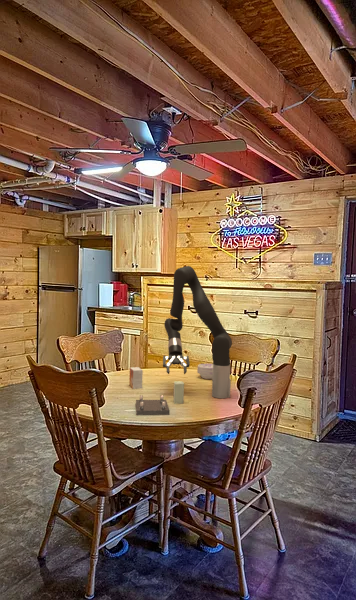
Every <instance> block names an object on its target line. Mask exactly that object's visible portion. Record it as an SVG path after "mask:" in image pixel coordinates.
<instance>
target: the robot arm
mask: <svg viewBox="0 0 356 600" xmlns="http://www.w3.org/2000/svg"><path fill="white" fill-rule="evenodd" d="M185 285H188V287H189V289H190V291H191V293H192V294H191V295H192V304H193V309H194V310H195V312H196V314H197V316H198V318H199V320H200V321H201V322H202V323H203V324H204V325H205V326H206V327H207V328H208V330H209V331H210V333H211V336H212V337H213V340H212V344H211V345H212V346H211V347H212V348H211V349H212V350H211V351H212V352H211V353H212V355H211V357H212V359H211V360H212V364H213V379H211V380H212V382H211V384H212V385H211V396H212V397H213V398H216V399H227V398H231V384H232V382H231V380H232V379H231V359H230V349H231V348H232V347H233V346H232V345H233V340H232V338H231V336H230V335H229V333H228V332H227V329H225V327H224V326H223V324H222V323H221V321H220V318H219V316H218V314H217V313H216V311H215V308H214V306H213V305H212V303H211V301H210V300H209V298H208V296H207V295H206V292H205V290H204V288H203V286H202V283H201V282H200V280H199V277H198V275H197V272H196V271H195V269H194V268H193V267H192V266H189V265H187V266H182V267H179V268H177V269H175V271H174V273H173V287H172V290H173V291H172V292H173V293H172V303H171V305H170V306H171V307H170V312H169V314H170V316H171V317H172V318H166V319H165V321H164V330H165V331H166V334H167V339H168V343H167V344H168V345H167V348H168V350H167V351H168V356H166V355H163V357H162V367H163V368H165V370H166V374H168V375H170V372H171V371H170V367H171V366H172V365H180V366H181V367H182V368H183V374H184V375H186V374H187V369H188V368H190V365H191V364H190V357H189V355H185V356H184V355H183V346H182V345H183V344H182V337H181V336H182V335H181V333H180V331H182V329H183V328H184V327H183V326H184V324H183V313H184V312H183V311H184V307H185V298H184V295H183V292H184V287H185ZM167 360H168V362H167V363H166V361H167ZM185 362H186V363H185Z"/></svg>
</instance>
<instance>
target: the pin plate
mask: <svg viewBox="0 0 356 600" xmlns="http://www.w3.org/2000/svg"><path fill="white" fill-rule="evenodd" d="M159 396H160V397H159V399H144V395H143V394H142V395H141V394H140V395H139V399H135V411H136V412H135V413H136V416H161V415H162V416H165V415H166V416H170V407H169V404H168V401H167V399H164V394H162V395H159Z"/></svg>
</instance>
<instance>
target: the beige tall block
mask: <svg viewBox="0 0 356 600" xmlns="http://www.w3.org/2000/svg"><path fill="white" fill-rule="evenodd" d="M184 396H185V383H184V381H179V380H178V381H173V399H172V400H173V404H175V405H177V404H179V405H181V404H182V405H183V404H184V400H185V399H184V398H185V397H184Z"/></svg>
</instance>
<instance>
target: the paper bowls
mask: <svg viewBox="0 0 356 600" xmlns="http://www.w3.org/2000/svg"><path fill="white" fill-rule="evenodd" d="M196 370H197V371H196V372H197V374H199V376H200V377H201V378H203V379H204V380H205V379H206V380H212V379H213V363H199V364H198V365H197V369H196Z"/></svg>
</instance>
